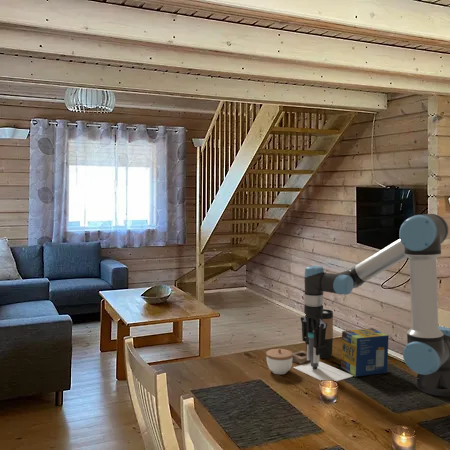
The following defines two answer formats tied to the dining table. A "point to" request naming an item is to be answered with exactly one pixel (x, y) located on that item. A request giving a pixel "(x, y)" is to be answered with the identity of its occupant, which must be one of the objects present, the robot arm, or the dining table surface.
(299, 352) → the pen holder
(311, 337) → the marker
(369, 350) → the protein box
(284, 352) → the lidded jar
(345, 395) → the dining table surface
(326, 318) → the travel mug
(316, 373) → the paper
